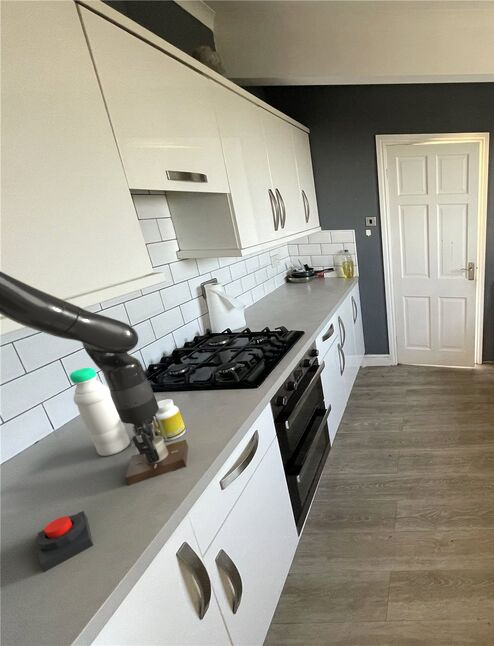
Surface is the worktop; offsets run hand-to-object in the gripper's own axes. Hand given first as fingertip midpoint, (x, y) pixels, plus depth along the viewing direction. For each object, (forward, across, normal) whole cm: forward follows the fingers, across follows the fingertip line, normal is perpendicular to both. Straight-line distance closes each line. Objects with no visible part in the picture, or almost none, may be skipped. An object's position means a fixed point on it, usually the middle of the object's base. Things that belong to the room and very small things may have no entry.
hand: (156, 453), depth 91 cm
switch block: (+4, -17, +14) cm, 22 cm away
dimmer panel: (+4, 0, 0) cm, 4 cm away
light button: (0, -17, +14) cm, 22 cm away
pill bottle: (+4, +13, -2) cm, 14 cm away
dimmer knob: (+1, 0, 0) cm, 1 cm away
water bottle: (+4, +15, +12) cm, 20 cm away
